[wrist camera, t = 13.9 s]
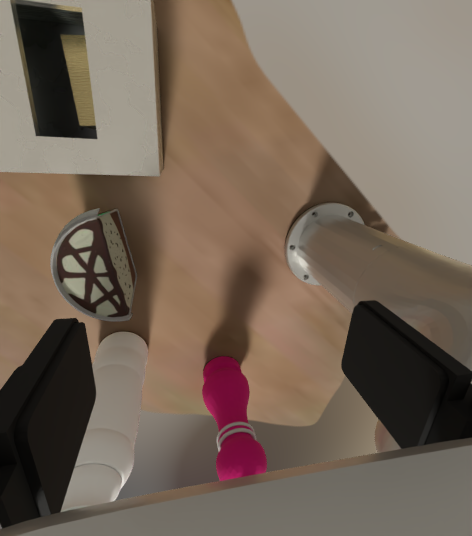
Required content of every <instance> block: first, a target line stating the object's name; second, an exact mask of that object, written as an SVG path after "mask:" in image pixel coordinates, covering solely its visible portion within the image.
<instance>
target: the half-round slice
mask: <svg viewBox="0 0 472 536" xmlns="http://www.w3.org/2000/svg"><path fill="white" fill-rule="evenodd" d="M99 210H100V209H99V208H98V209H94V210H90V211H87V212H85V213H83V214H80V215H79V216H77V217H76V218H74V219H72V220H71V221H70V222H69V223H68V224H67V225H66V226H65V227H64V228H63V230H62V231H61V232H60V234H59V236H58V238H57V240H56V242H55V244H54V247H53V250H52V254H51V272H52V276H53V279H54V282H55V285H56V287H57V289H58V291H59V292H60V294H61V295H62V296H63V298H64V299H65V300H66V301H67V302H68V303H69V304H70V305H71V306H73V307H74V308H75V309H77V310H78V311H80V312H82V313H83V314H85V315H87V316H90V317H93V318H96V319H100V320H104V321H127V320H129V319H131V317H132V315H133V313H132V314H131V309H132V303H133V297H134V292H135V286H136V281H137V273H136V269H135V266H134V262H133V259H132V255H131V252H130V249H129V245H128V242H127V238H126V235H125V231H124V228H123V224H122V221H121V218H120V214H119V211H118V209H114V210H110V211H107V212H104V213H102V214H99V215H98V212H99Z"/></svg>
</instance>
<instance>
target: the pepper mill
mask: <svg viewBox="0 0 472 536" xmlns="http://www.w3.org/2000/svg"><path fill="white" fill-rule="evenodd" d="M203 377H204V385H203V390H202V394H203V399H204V402H205V405H206V407H207V409H208V410H209V411H210V413H211V414H212V415H213V417H214V418H215V420H216V422H217V424H218V428H219V433H218V435H217V444H218V451H219V453H218V456H217V460H216V468H217V473H218V476H219V479H220V481H223V480H229V479H234V478H239V477H245V476H250V475H256V474H261V473H266V468H267V461H266V455H265V452H264V449H263V448H262V446H261V445H260V443H258V442H257V441H256V435H255V432H254V429H253V427H252V426H251V425H249V423H248V420H247V404H248V400H249V385H248V381H247V379H246V377H245V376H244V375H243V374H242V372H241V369H240V366H239V363H238V362H237V361H236V360H235V359H233V358H231V357H227V356H221V357H217V358H214V359H213V360H211V361H210V362H209V363H207V365H206V366H205V368H204V371H203Z"/></svg>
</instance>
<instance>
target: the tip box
mask: <svg viewBox="0 0 472 536" xmlns="http://www.w3.org/2000/svg"><path fill="white" fill-rule="evenodd" d="M60 34H61V35H85V39H86V47H87V56H88V64H89V72H90V81H91V89H92V97H93V106H94V114H95V122H96V129H90V128H87V127H83V126H80V124H79V120H78V115H77V110H76V106H75V101H74V96H73V92H72V87H71V82H70V78H69V73H68V68H67V64H66V59H65V54H64V50H63V45H62V40H61V36H60ZM163 169H164V165H163V143H162V121H161V99H160V77H159V55H158V33H157V23H156V15H155V8H154V1H153V0H0V172H28V173H62V174H96V175H130V176H160V175H161V173H162V171H163Z"/></svg>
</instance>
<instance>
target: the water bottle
mask: <svg viewBox="0 0 472 536" xmlns="http://www.w3.org/2000/svg"><path fill="white" fill-rule="evenodd" d="M147 357H148V348H147V345H146V343H145V341H144V340H143V339H142V338H141V337H140V336H138V335H136V334H134V333H131V332H116V333H113V334H111V335H109V336H107V337H106V338H104V339H103V341H102V342H101V343H100V345H99V347H98V350H97V352H96V356H95V361H94V362H93V364H92V368H93V374H94V380H95V386H96V400H95V403H94V407H93V410H92V413H91V416H90V419H89V423H88V426H87V429H86V432H85V435H84V438H83V442H82V445H81V448H80V451H79V454H78V458H77V461H76V464H75V467H74V470H73V474H72V477H71V480H70V483H69V486H68V489H67V493H66V496H65V499H64V502H63V505H62V509H61V512H64V511H68V510H72V509H77V508H82V507H87V506H92V505H97V504H102V503H107V502H112V501H115V499H116V498H117V496H118V494H119V492H120V490H121V488H122V487H123V485H124V484H125V482H126V481H127V479H128V477H129V475H130V473H131V471H132V468H133V464H134V445H135V441H136V436H137V431H138V424H139V417H140V410H141V400H142V386H143V383H144V379H145V366H146V363H147Z"/></svg>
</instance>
